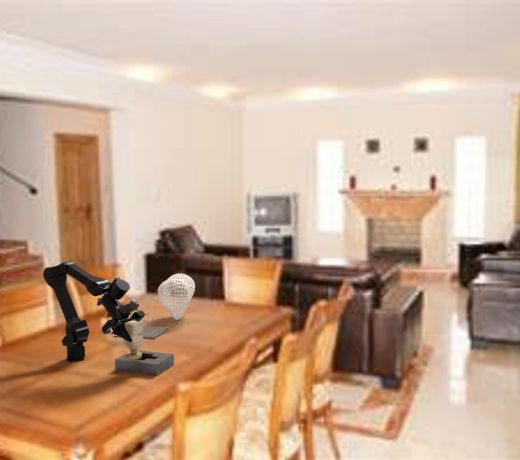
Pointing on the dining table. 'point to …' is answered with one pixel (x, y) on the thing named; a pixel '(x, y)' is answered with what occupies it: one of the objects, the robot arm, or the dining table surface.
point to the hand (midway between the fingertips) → (136, 339)
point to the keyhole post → (134, 339)
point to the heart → (165, 294)
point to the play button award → (153, 331)
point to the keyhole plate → (145, 363)
